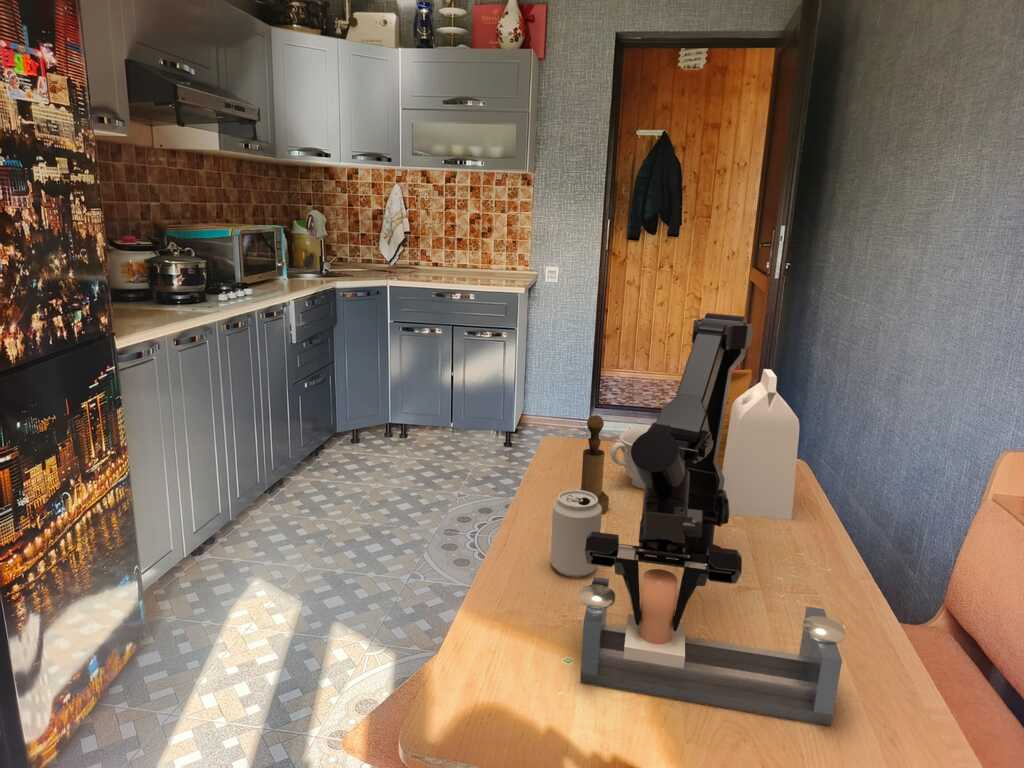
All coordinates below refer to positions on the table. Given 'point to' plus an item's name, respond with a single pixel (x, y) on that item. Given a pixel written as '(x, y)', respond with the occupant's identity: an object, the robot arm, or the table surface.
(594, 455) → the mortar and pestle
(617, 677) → the rail
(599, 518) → the can
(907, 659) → the table surface
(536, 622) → the table surface
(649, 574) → the carriage
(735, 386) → the coffee package
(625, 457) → the teacup
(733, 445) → the milk
